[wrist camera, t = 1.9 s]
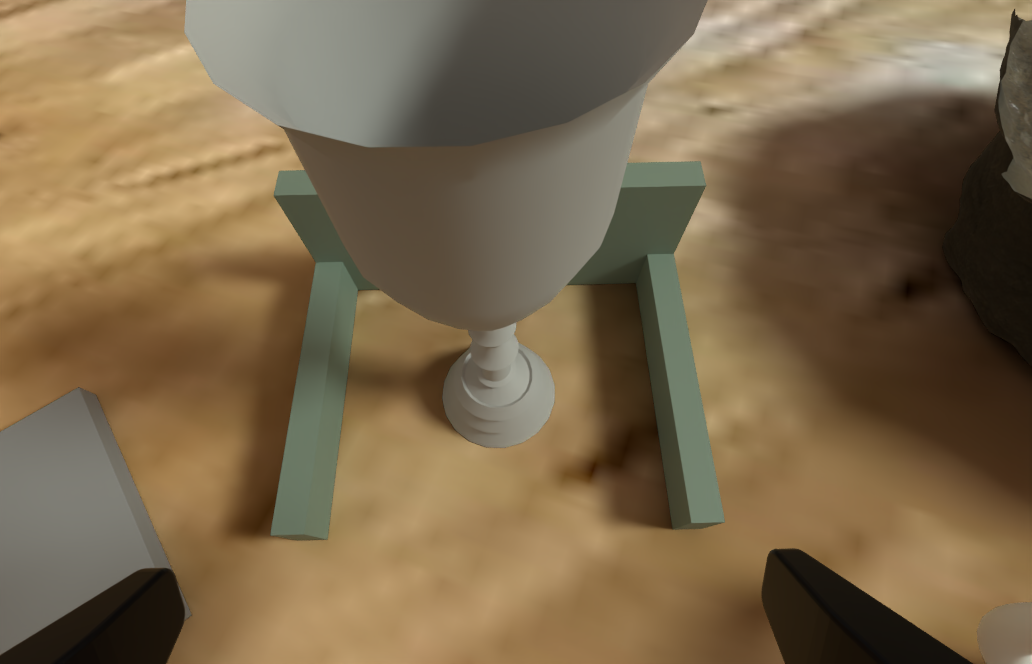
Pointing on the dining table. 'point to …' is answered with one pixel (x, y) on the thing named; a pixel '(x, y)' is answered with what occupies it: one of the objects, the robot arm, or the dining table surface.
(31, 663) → the robot arm
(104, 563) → the rubber mat
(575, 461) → the dining table surface
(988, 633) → the mug
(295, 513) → the u-shaped frame
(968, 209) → the stone bowl
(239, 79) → the chalice
